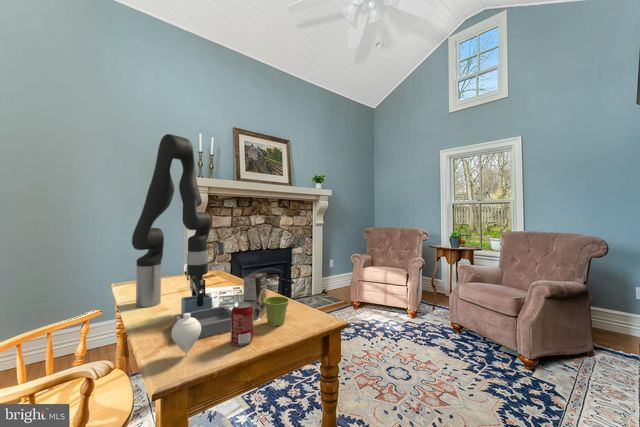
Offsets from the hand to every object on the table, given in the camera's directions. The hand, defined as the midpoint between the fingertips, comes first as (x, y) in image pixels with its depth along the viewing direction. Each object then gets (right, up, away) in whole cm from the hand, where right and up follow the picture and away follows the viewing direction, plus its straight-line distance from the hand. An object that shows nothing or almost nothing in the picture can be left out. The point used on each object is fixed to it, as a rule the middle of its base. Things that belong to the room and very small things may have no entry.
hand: (197, 303), depth 110 cm
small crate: (0, -5, 0) cm, 5 cm away
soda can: (+24, -6, -21) cm, 32 cm away
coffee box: (+23, -5, +2) cm, 23 cm away
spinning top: (+10, -5, -30) cm, 33 cm away
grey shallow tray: (+8, -5, -11) cm, 15 cm away
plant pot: (+32, -6, -6) cm, 33 cm away
